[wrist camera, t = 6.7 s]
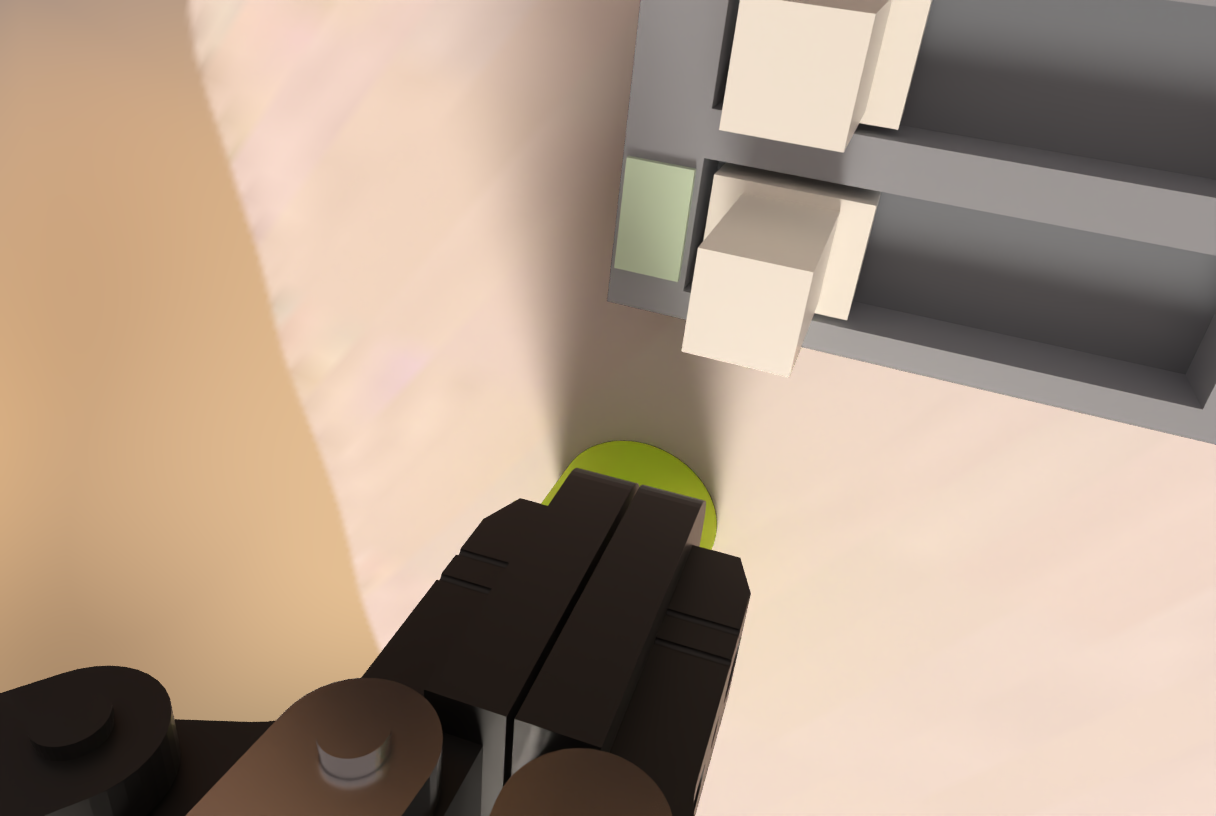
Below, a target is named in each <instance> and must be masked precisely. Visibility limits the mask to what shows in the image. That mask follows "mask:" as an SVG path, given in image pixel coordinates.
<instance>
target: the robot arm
mask: <svg viewBox="0 0 1216 816" xmlns="http://www.w3.org/2000/svg"><path fill="white" fill-rule="evenodd" d="M705 511H706V501H705V500H701V499H697V498H693V497H689V496H685V495H682V494H678V493H674V492H670V491H666V490H662V489H658V488H655V487H651V486H647V485H643V484H642V485H641V486H640V487H639V484H638V483H634V482H630V481H627V480H623V479H619V478H615V477H611V476H607V475H603V474H600V473H596V472H592V471H588V470H584V469H580V468H575V469H573V470H572V471H571V473H570V474H569V475H568V477H567V478H566V480H565V481H564V483H563V484H562V486H561V487H560V489H559V490H558V492H557V493H556V495H555V496H554V498H553V499H552V501H551V502H550V503H549V505H548V506H547V505H543V504H539V503H536V502H532V501H528V500H525V499H521V498H520V499H518V500H516V501H514V502H513V503H511V504H509V505H507V506H506V507H504V508H502V509H500V510H499V511H497V512H495V513H493V514H491V515H490V516H488V517H486V518H484V519H483V520H482V522H481V523H480V524H479V526H478V527H477V528H476V529H475V531H474V532H473V533H472V535H471V536H470V537H469V539H468V540H467V541H466V542H465V544H464V545H463V546H462V548H461V550H460V554H459V555H455V557H454V558H453V559H452V561H451V562H450V563H449V565H448V566H447V567H446V568H445V570H444V571H443V572H442V575H441V578H440V580H436V581H435V583H434V584H433V585H432V587H431V588H430V589H429V591H428V592H427V593H426V594H425V596H424V597H423V598H422V600H421V601H420V602H419V604H418V605H417V606H416V607H415V609H414V610H413V611H412V613H411V614H410V615H409V617H408V618H407V619H406V620H405V622H404V623H403V624H402V626H401V627H400V628H399V630H398V631H397V632H396V633H395V635H394V636H393V637H392V639H391V640H390V641H389V643H388V644H387V645H386V646H385V648H384V649H383V650H382V652H381V653H380V654H379V656H378V657H377V658H376V659H375V661H374V662H373V663H372V665H371V666H370V667H369V669H368V670H367V671H366V673H365V674H364V675H363V676H362V677H361V678H355V679H347V680H343V681H338V682H334V683H331V684H328V685H326V686H323V687H320V688H318V689H316V690H314V691H312V692H310V693H308V694H306V695H305V696H303V697H302V698H301V699H299V700H298V701H296V702H295V703H294V704H293V705H292V706H290V707H289V708H288V709H287V710H286V711H285V712H284V713H283V714H282V715H281V716H280V717H279V718H278V719H277V720H276V721H269V722H234V721H204V720H177V719H174V716H173V711H172V706H171V701H170V698H169V696H168V693H167V692H166V689H165V688H164V687H163V686H162V685H161V684H160V682H159V681H158V680H156V679H155V678H153V677H152V676H150V675H149V674H147V673H144V672H142V671H139V670H136V669H132V668H127V667H120V666H94V667H89V668H82V669H77V670H73V671H69V672H66V673H62V674H59V675H56V676H53V677H50V678H47V679H44V680H40V681H37V682H34V683H31V684H28V685H25V686H21V687H18V688H15V689H12V690H9V691H6V692H3V693H0V816H695V814H696V810H697V807H698V803H699V800H700V796H701V792H702V789H703V785H704V781H705V778H706V774H707V770H708V766H709V763H710V760H711V756H712V753H713V749H714V745H715V742H716V738H717V734H718V731H719V727H720V724H721V720H722V716H723V713H724V709H725V706H726V702H727V698H728V694H729V690H730V685H731V681H732V676H733V672H734V667H735V663H736V658H737V654H738V649H739V645H740V640H741V636H742V631H743V627H744V622H745V617H746V613H747V608H748V604H749V599H750V595H751V593H750V589H749V586H748V583H747V579H746V576H745V572H744V569H743V566H742V562H741V559H740V558H739V557H735V556H732V555H728V554H724V553H721V552H717V551H713V550H710V549H706V548H702V547H699V546H700V541H701V535H702V530H703V524H704V518H705Z"/></svg>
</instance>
